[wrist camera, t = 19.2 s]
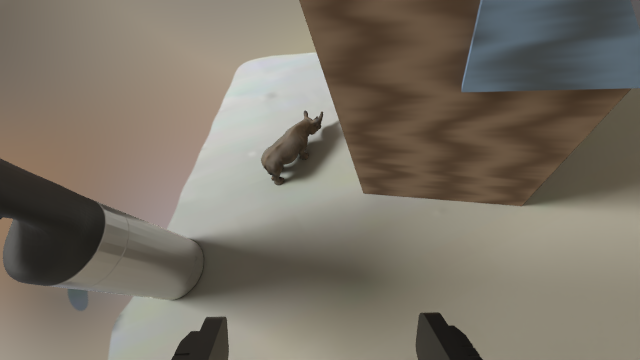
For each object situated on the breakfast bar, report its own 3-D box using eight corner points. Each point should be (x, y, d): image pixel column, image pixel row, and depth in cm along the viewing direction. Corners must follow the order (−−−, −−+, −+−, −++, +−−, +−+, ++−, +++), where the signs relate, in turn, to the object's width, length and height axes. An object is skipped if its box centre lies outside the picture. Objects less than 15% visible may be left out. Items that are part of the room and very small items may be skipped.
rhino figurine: (337, 128, 50) (328, 105, 45) (281, 189, 48) (266, 172, 43) (319, 118, 52) (309, 95, 47) (265, 176, 50) (248, 158, 45)
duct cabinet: (362, 197, 43) (268, -77, 14) (378, 87, 52) (340, -235, 22) (521, 210, 37) (953, -232, 8) (511, 82, 45) (706, -374, 16)
